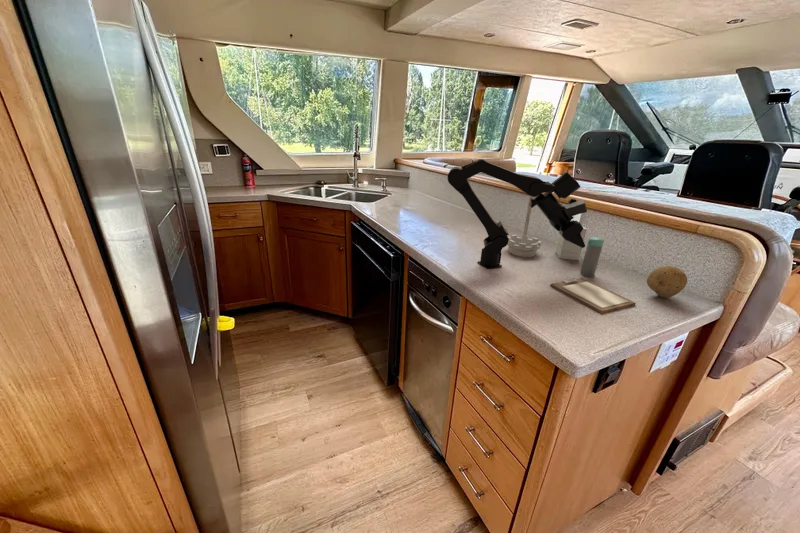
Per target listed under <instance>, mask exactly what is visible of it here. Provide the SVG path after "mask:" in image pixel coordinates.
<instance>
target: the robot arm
mask: <svg viewBox="0 0 800 533" xmlns="http://www.w3.org/2000/svg"><path fill="white" fill-rule="evenodd" d="M481 173H482V174H485V175H488V176H490V177H492V178H495V179H496V180H497V179H498V180H500V181H503V182H505V183H507V184H510V185H513V186H514V187H516V188H517V189H519V190H520V191H522V192H523V193H525V194H526V195H528V196H529V197H530V196H533V197H534V198H530V203H529V206H530V207H531V208H535V206H537V207H538V209H539V210H540V211H541V213H542V214H544V216H545V217H546V218H547V219H548V223H549V224H550V225H551V227H553V229H555V230H556V231H558V233H559V234H560V235H561V236H562V237H563V238H564V239H565V240H566V241H569V242H571V243H573V244H575V245H577V246H580V247H582V249H584V248H585V247H586V244H585V240H584V241H583V239H582V236H581V231H582V230H583V227H584V226H583V225H582V224H581V223H580V222H579V221H578V220H573V219H574V217H575V216H578V215H581V214H585V213H587V212H588V208H587V204H586V202H585V201H584V200H582V199H581V200H580V199H578V200H577V199H575V198H574V197H573V198H570V199H568V202H567V203H566V205H563V204H562V203H560V202H559V200H560V199H563V200H566V199H567V198H569V197H570V195H572V194H573V193H575V192H576V191H578V190H579V189H580V188H581V185H580V184H579V182H578V181H577V179H574V178H573V176H571V174H570V173H569V172H567V171H564V172H563V173H562V174H561V175H560V176H559V177H558V178H556V179H555V180H554V181H552V182H549V181H544V180H542V179H541V178H539V177H537V176H535V175H529V174H523V173H517V172H515V171H512V170H510V169H507V168H504V167H502V166H500V165H497V164H495V163H491V162H489V161H487V160H485V159H484V158H478V159H477V160H475V161H473V162H470V163H468V164H465V165H463V166H454V167H452V168H451V169H450V170H449V172H448V174H447V181H448V184H450V186H451V187H452V188H454V190H455V191H457V193H459V194H460V195H461V196H462V197H463V198H464V200H465V201H466V202H467V204H468V205H469V207H470V208H471V210H472V211H473V212H474V214H475V215H476V217H477V218H478V220H479V221H480V222H481V224H482V225H483V227H484V229H485V232H486V234H487V237H485V238H484V239H483V245H484V246H483V248H481V254H480V260H478V261H477V262H476V263H477V264H478V265H480V266H482V267H483V268H485V269H487V270H491V269H497V268H502V267H503V265H502V264H501V260H502V249H504V248H505V247H507V246H508V245H507V244H508V241H509V239H508V237H509V236H510V235H509V232H508V230H507V228H505V227H504V226H503V223H502V221H501V220H499V221H498V222H497V221H495V220H494V219H493V217H492V215H490V212H489V211H488V210H487V209H486V207H485V206H484V204H483V202H482V201H481V199H480V198H479V197H478V195H477V194H476V193H475V191H474V189H473V187H472V185H471V183H470V182H469V179H471V178H472V177H474V176H476V175H478V174H481ZM555 196H556V197H555ZM557 198H558V199H559V200H558V199H557Z"/></svg>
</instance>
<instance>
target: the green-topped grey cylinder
mask: <svg viewBox="0 0 800 533" xmlns="http://www.w3.org/2000/svg"><path fill="white" fill-rule="evenodd" d="M604 243H605V239H604V238H602V237H598V236H597V237H596V236H590V237H589V238H588V240H587V244H586V250H585V252H584V255H583V260H582V264H581V267H580V272H579V275H582V276H584V277H587V278H592V277H595V274H596V271H597V267H598V263H599V261H600V260H599V259H600V256H601V253H602V248H603V245H604Z"/></svg>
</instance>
